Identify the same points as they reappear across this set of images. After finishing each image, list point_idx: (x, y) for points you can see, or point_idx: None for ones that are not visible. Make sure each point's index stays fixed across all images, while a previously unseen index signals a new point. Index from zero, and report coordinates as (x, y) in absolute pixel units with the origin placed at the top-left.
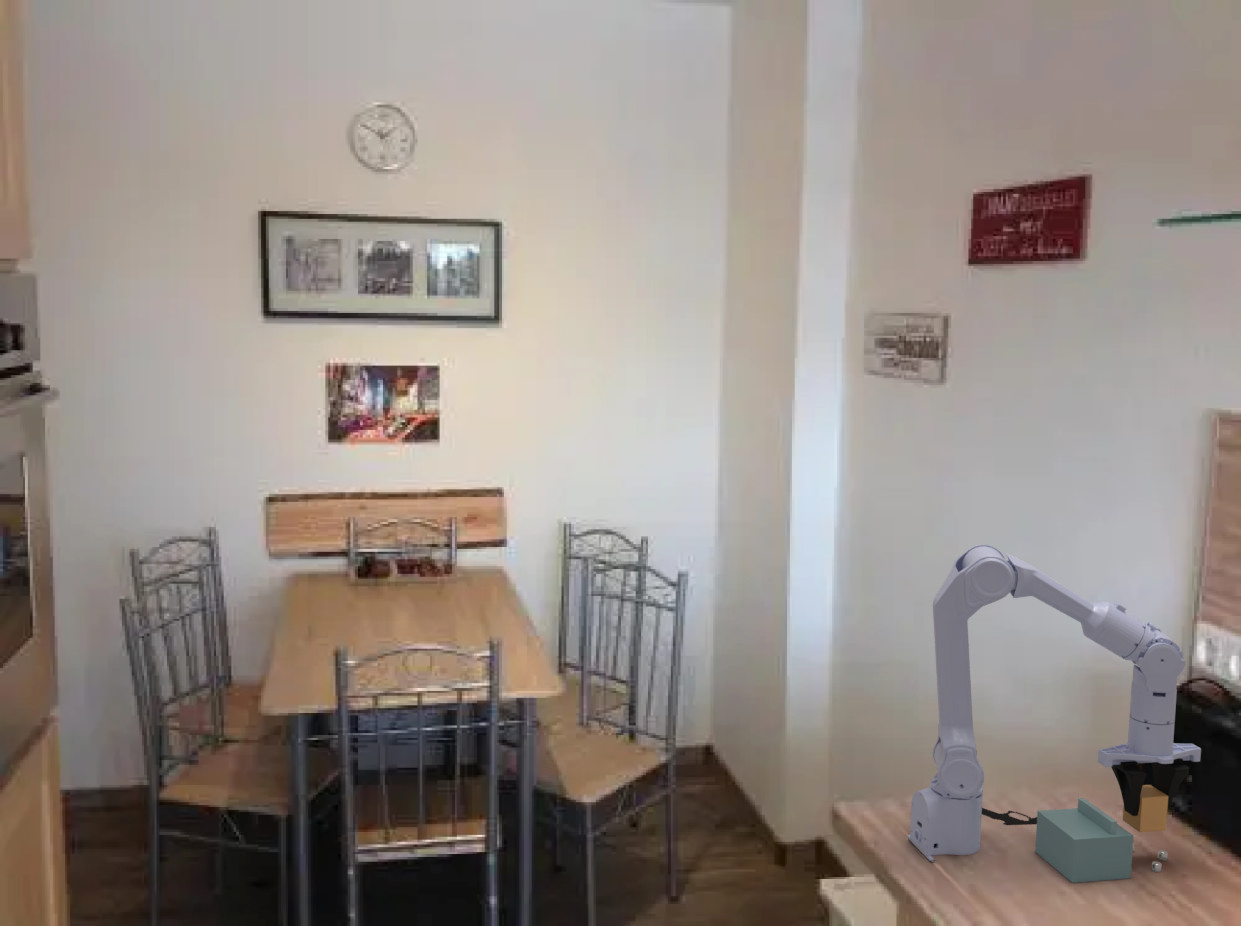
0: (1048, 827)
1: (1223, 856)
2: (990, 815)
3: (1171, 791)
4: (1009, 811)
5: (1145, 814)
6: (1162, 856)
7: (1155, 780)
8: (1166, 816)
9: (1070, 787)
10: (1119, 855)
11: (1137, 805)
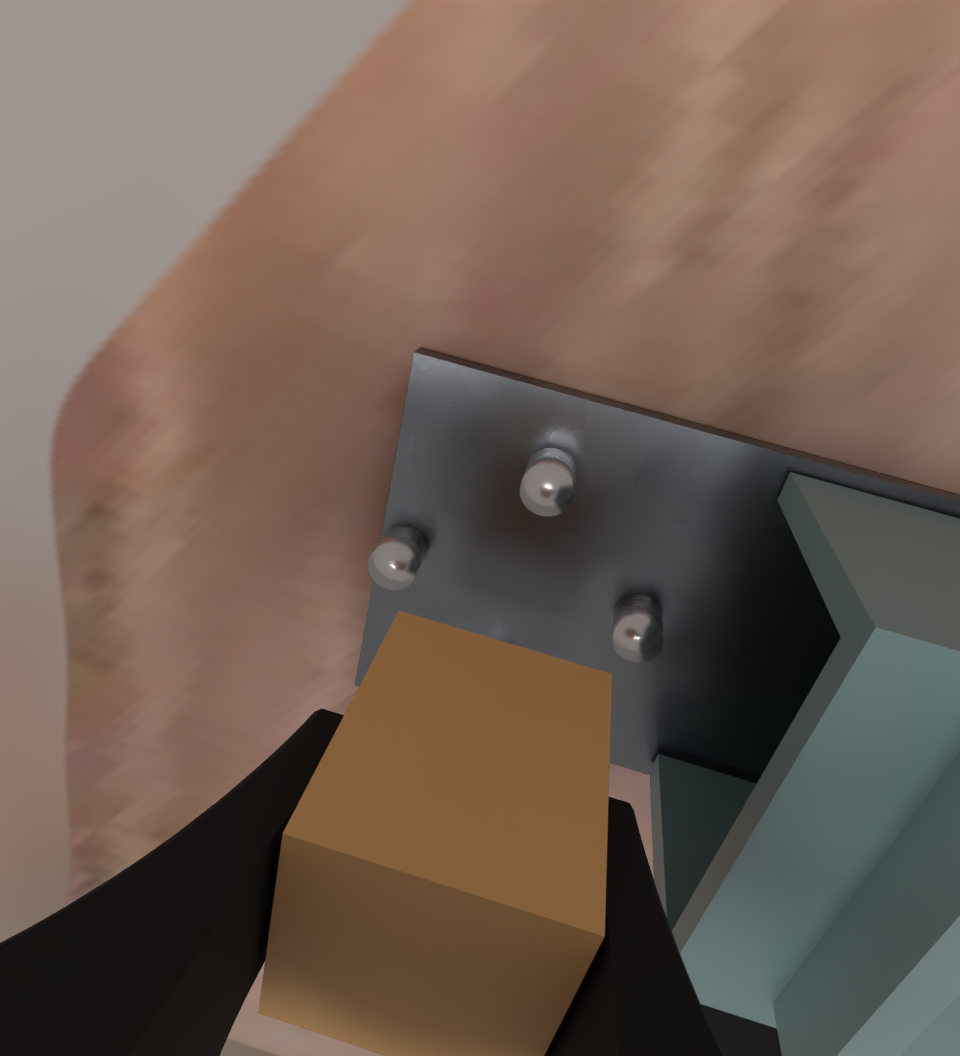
0: None
1: (55, 456)
2: None
3: (214, 868)
4: None
5: (566, 767)
6: (413, 548)
7: (217, 1052)
8: (367, 682)
9: (254, 1041)
10: (935, 572)
11: (623, 876)
